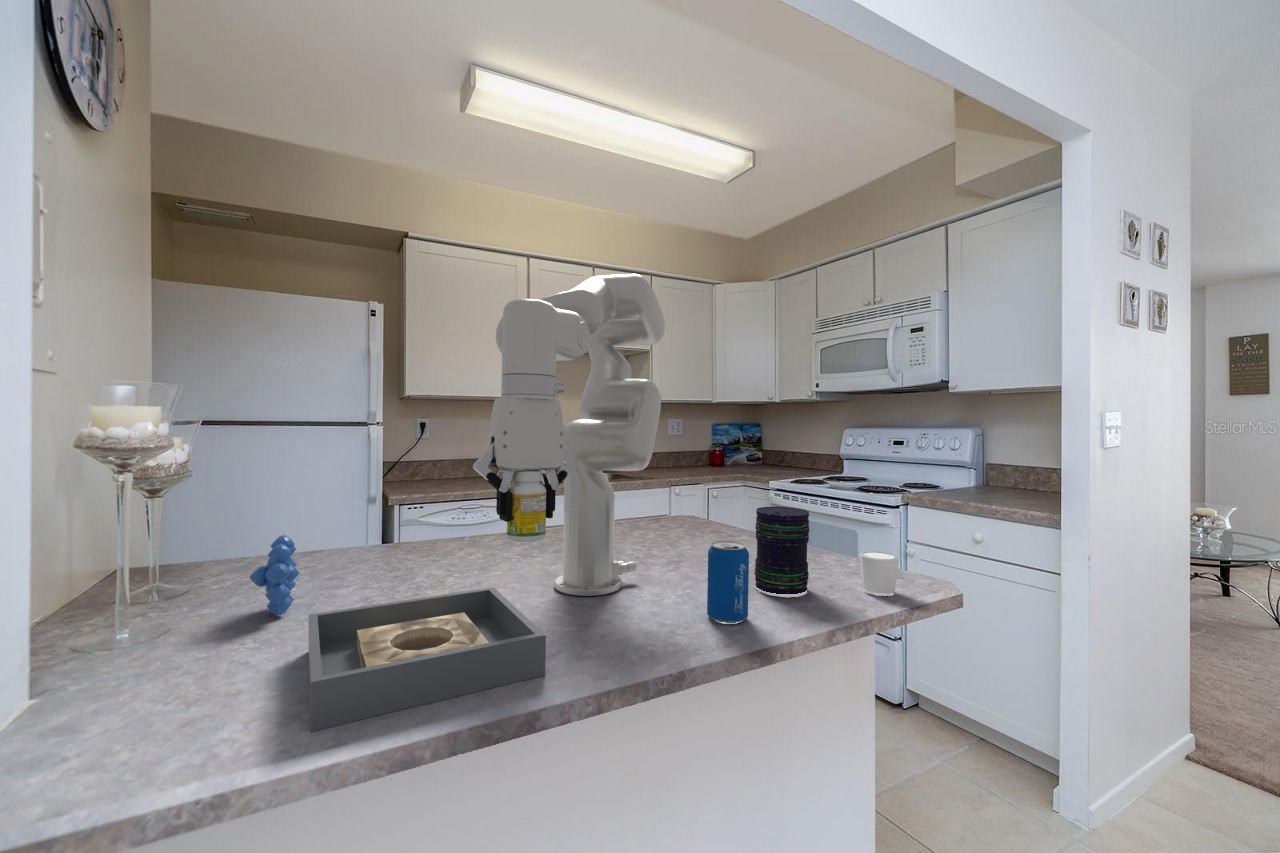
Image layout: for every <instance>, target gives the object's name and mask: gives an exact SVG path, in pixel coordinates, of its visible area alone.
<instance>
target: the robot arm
mask: <svg viewBox="0 0 1280 853" xmlns="http://www.w3.org/2000/svg"><path fill="white" fill-rule="evenodd" d="M665 322H666V321H665V316H664V313H663V311H662V307H661V306H660V303H659V301H658V298H657V295H656V293H655V291H654V289H653V287H652V285H651V284H650V282H649V281H648V279H646V277H644V276H642V275H640V274H637V273H631V274H630V273H629V274H609V275H608V274H606V275H596V276H592V277H590V278H588V279H585V280H584V281H582V282H581V283H579V284H578V285H576V286H574V287H573V288H572V289H570V290H567V291H566V290H565V291H562V292H559V293H558V292H557V293H555V294H552V295H548V296H545V297H542V298H537V299H533V298H519V299H513V300H510V301H508V302H507V303H506V304H505V305H504V307H503V311H502V317H501V318H500V320H499V321H498V324H497V327H496V331H495V342H496V345H497V346H496V347H497V348H498V350H499V351H500V353H501V386H500V387H501V389H500V390H501V393H500V394H501V396H500V397H497V398H496V397H495V398H494V402H493V407H492V412H491V416H490V423H489V429H488V430H489V432H488V440H487V448H486V449H485V451H484V452H482V454H481V455H480V456H479V458H477V460H476V461H475V462H474V463H473V464H472V469H473V470H474V471H476V472H477V473H478V474H479V475H480V476H481V477H482V478H484V480H486V482H487V483H489V484H490V485H491V487H493V490H495V491H496V505H495V506H496V508H495V511H496V514H497V515H498V517H499V520H501V521H503V522H506V523H507V522H509V521H510V520H512V493H511V492H509V487H510V486H511V482H512V480H513V474H514V471H523V470H541V471H542V479H541V481H542V483H543V484H542V485H543V486H544V487H545V488H546V519H553V518H554V512H555V511H556V491H557V490H558V489H559V488H560V485H561V484H562V483H563V491H564V492H563V548H562V549H563V551H562V555H563V556H562V557H563V560H562V563H563V564H562V567H563V568H562V575H560V576H558V577H556V578H555V580H554V588H555V590H557V591H558V592H560V593H563V594H566V595H571V596H579V597H580V596H581V597H594V596H604V595H608V594H609V595H610V594H612V593H615V592H616V591H618V590H619V589H621V588H622V585H623V584H622V583H623V581H622V578H621V577H620V576H622V575H623V573H634V572H636V571H637V564H636V562H635V561H629V562H624V561H623V560H618V561H617V560H615V507H616V506H615V505H616V502H615V501H616V500H615V499H616V496H615V491H614V488H613V485H612V484H611V482H610V481H609V478H607V476H606V475H605V474H604V472H603V471H617V472H619V471H620V472H638V471H643V470H644V469H646V468H647V467H648V466H649V464H650V462H651V459H652V455H653V452H654V449H655V446H654V445H655V442H656V436H657V432H658V426H659V422H660V415H661V410H662V409H661V407H662V404H661V403H662V400H661V393H660V390H659V386H657V384H656V382H654V381H652V380H650V379H647V378H632V374H633V373H632V366H631V365H630V363H629V362H628V360H627V359H626V358H625V356H624V355H623V354H622V353H621V352H620V351H619V350H617V349H616V348H615V347H619V346H623V347H625V346H632V347H633V346H652V345H657V344H658V343H660V341H661V340H662V339H663V337H664V334H665V330H666V329H665V328H666V326H665V325H666V323H665ZM587 351H588V354H589V358H590V362H591V368H590V372H589V375H588V378H587V381H586V384H585V388H584V391H583V393H582V397H581V401H580V414H581V416H582V418H579V419H575V420H572V421H570V422H568V423H566V424H565V425H564V419H563V412H562V407H561V403H560V400H556V397H557V396H558V394H562V393H564V391H565V384H564V383H559V382H558V378H557V362H558V361H559V362H560V361H563V362H564V361H565V362H566V361H574V360H577V359H580V358H582V356H584V355H585V354H586V353H587ZM489 467H491V468H493V469H498V472H497V474H496V473H495V472H493V470H492V469H491V468H489Z"/></svg>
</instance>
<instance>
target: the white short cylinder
mask: <svg viewBox="0 0 1280 853" xmlns="http://www.w3.org/2000/svg"><path fill="white" fill-rule="evenodd" d="M899 561H900V558H899V556H897V555H896V554H892V553H888V552H883V551H882V552H881V551H863V552H860V553H859V566H860V579H861V589H862V588H863V589H865V590H867V591H870V592H875V593H893V592H895V593H896V587H897V586H896V585H897V578H898V571H899V570H898V569H899V563H900V562H899Z"/></svg>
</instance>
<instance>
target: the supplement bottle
mask: <svg viewBox="0 0 1280 853" xmlns="http://www.w3.org/2000/svg"><path fill="white" fill-rule="evenodd" d="M512 480H513V482H514V483H513V484H512V485H511V484H510V486H509V492H511V493H512V520H510V521H509V522H506V538H507V539H508V540H509V541H511V542H516V543H517V542H518V543H531V542H532V543H533V542H534V543H535V542H539V541H542V540H544V539H545V537H546V534H547V533H546V532H547V529H546V528H547V518H546V488H545V487H544V486H543V485H544V484H541V481H542V471H541V470H523V471H514V474H513V477H512Z"/></svg>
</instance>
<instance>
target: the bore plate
mask: <svg viewBox="0 0 1280 853" xmlns="http://www.w3.org/2000/svg"><path fill="white" fill-rule="evenodd" d="M486 643H489V642H488V641H487V640H486V639H485V638H484V636H483V635H482V634H481V632H480V631H479V630H478V628H477V627H476V626H475V625H474V624H473V623H472V621H471V620H470V619H469V618H468V617H467V615H466V614H465V613H464V612H463V613H457V614H451V615H445V616H439V617H433V618H426V619H420V620H414V621H408V622H402V623H397V624H391V625H385V626H379V627H373V628H367V629H361V630H357V651H358V655H359V659H360V666H361V668H365V667H370V666H375V665H380V664H385V663H390V662H396V661H401V660H406V659H411V658H416V657H421V656H426V655H431V654H436V653H441V652H446V651H451V650H456V649H461V648H466V647H471V646H476V645H481V644H486ZM421 645H440V646H438V647H434V648H429V649H424V650H405V649H407V648H410V647H416V646H421Z"/></svg>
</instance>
